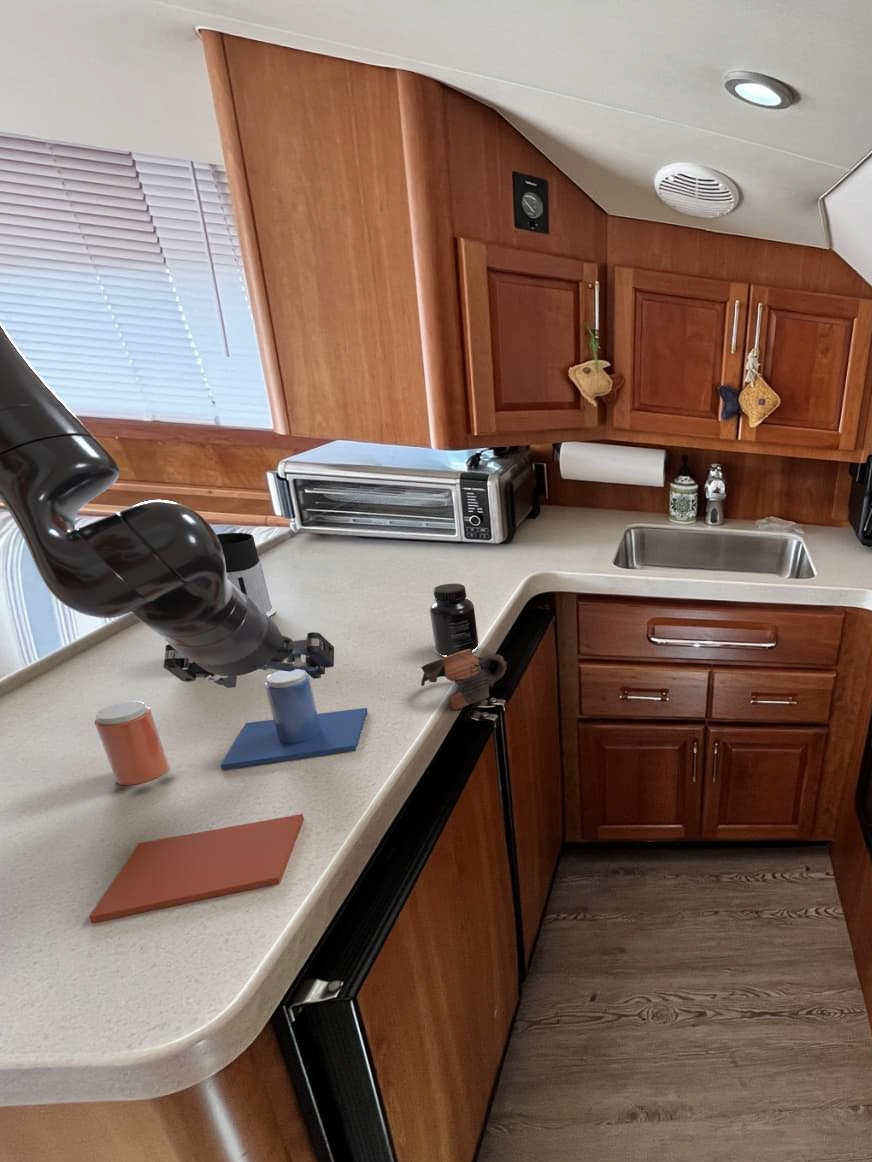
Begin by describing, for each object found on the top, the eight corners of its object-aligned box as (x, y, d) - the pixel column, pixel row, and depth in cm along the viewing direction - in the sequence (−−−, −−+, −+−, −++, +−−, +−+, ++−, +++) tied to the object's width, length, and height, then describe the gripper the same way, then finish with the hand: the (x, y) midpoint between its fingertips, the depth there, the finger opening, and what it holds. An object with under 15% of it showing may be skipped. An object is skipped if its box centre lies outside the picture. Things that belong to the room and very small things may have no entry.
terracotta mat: (91, 923, 58) (88, 917, 58) (141, 848, 67) (139, 842, 66) (280, 883, 64) (278, 877, 64) (304, 818, 72) (303, 813, 72)
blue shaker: (274, 746, 83) (258, 686, 79) (283, 727, 86) (268, 669, 83) (317, 740, 84) (303, 681, 81) (324, 722, 88) (311, 665, 85)
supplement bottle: (484, 642, 116) (477, 581, 112) (472, 659, 110) (465, 595, 106) (443, 642, 115) (435, 580, 111) (429, 659, 109) (420, 594, 104)
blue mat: (221, 770, 79) (220, 765, 78) (247, 727, 87) (246, 722, 87) (355, 750, 84) (354, 745, 84) (367, 712, 93) (367, 707, 93)
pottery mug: (433, 720, 93) (410, 669, 92) (440, 715, 102) (420, 668, 101) (516, 686, 98) (495, 637, 97) (517, 684, 106) (497, 639, 106)
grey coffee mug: (281, 604, 124) (263, 530, 118) (260, 634, 112) (240, 553, 106) (223, 608, 120) (202, 532, 115) (196, 640, 108) (171, 556, 103)
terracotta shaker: (108, 788, 74) (83, 723, 71) (127, 765, 78) (103, 702, 75) (160, 780, 76) (137, 716, 73) (175, 759, 80) (155, 697, 77)
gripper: (306, 591, 70) (344, 641, 83) (133, 601, 64) (204, 654, 77) (304, 655, 67) (344, 696, 81) (124, 672, 61) (199, 713, 75)
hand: (276, 675), depth 79 cm, fingers open, 8 cm apart
